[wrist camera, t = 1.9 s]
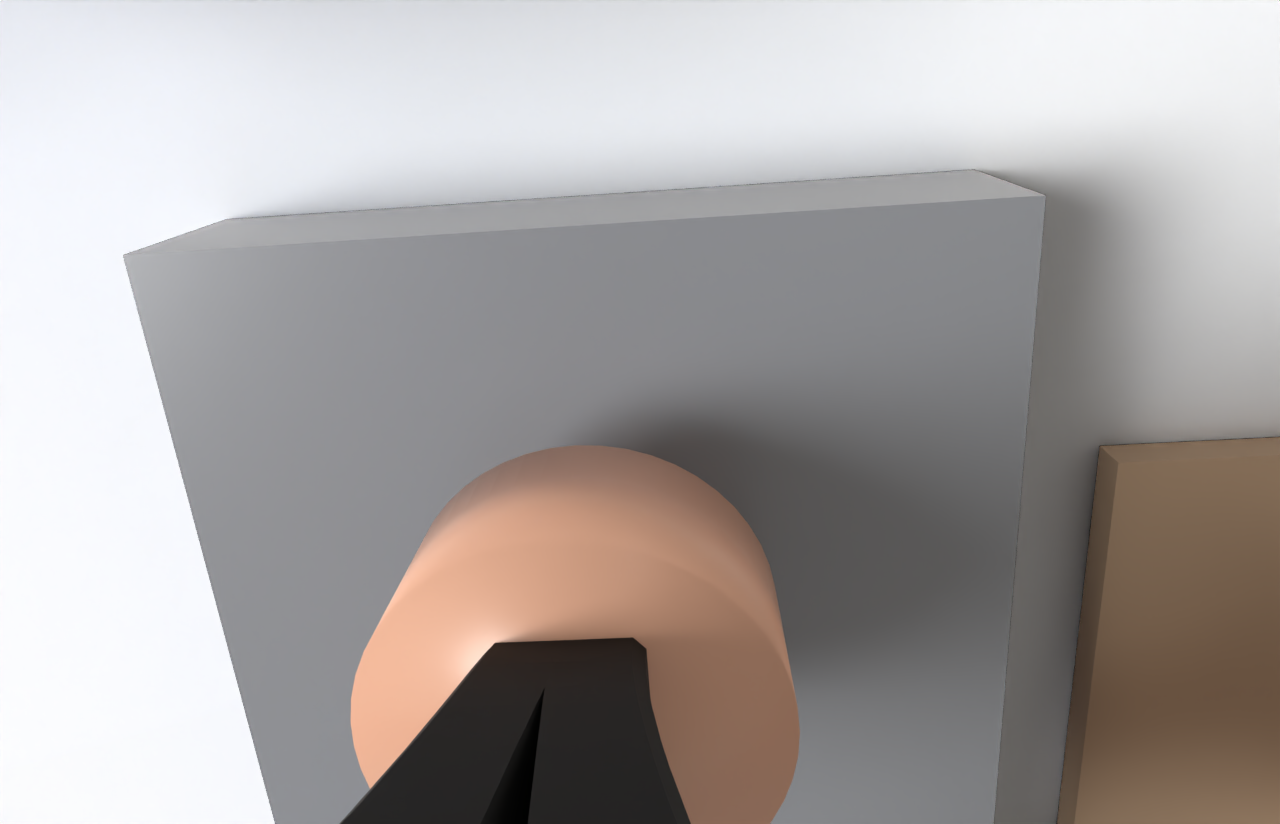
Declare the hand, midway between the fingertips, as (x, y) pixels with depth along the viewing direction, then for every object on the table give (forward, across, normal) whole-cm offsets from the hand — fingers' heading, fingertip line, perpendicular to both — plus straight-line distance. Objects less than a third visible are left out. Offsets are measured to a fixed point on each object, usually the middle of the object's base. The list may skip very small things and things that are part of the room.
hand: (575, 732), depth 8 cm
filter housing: (+6, 0, +4) cm, 7 cm away
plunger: (+2, 0, 0) cm, 2 cm away
